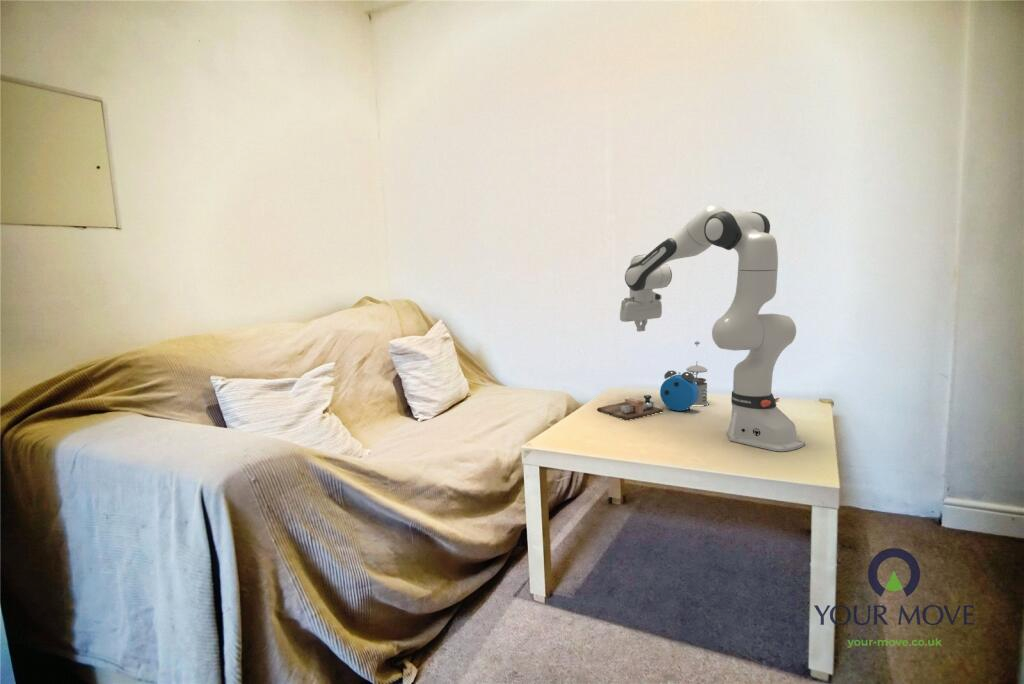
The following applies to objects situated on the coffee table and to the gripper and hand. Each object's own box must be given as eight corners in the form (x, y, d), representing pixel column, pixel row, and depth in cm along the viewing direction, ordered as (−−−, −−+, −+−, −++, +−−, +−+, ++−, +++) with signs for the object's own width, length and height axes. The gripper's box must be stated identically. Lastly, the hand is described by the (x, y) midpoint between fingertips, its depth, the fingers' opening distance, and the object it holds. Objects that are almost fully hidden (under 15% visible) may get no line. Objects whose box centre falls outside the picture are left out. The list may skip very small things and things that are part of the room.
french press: (684, 406, 207) (685, 343, 204) (681, 398, 218) (682, 338, 215) (711, 406, 205) (712, 342, 201) (707, 399, 216) (708, 338, 213)
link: (647, 405, 204) (647, 394, 204) (655, 407, 201) (656, 396, 200) (619, 411, 197) (619, 399, 197) (627, 413, 194) (627, 402, 193)
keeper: (644, 412, 196) (644, 401, 195) (638, 414, 194) (638, 402, 193) (631, 409, 201) (631, 397, 201) (625, 410, 200) (625, 399, 199)
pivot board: (662, 412, 200) (663, 409, 199) (627, 420, 191) (627, 417, 190) (632, 403, 214) (632, 400, 214) (597, 410, 205) (597, 407, 205)
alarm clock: (698, 410, 201) (699, 371, 199) (693, 414, 196) (693, 374, 194) (665, 405, 209) (665, 368, 207) (659, 409, 204) (659, 371, 202)
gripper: (627, 298, 201) (627, 334, 203) (664, 295, 212) (664, 329, 214) (616, 297, 206) (616, 333, 208) (652, 294, 217) (652, 328, 219)
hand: (640, 331), depth 211 cm, fingers closed
